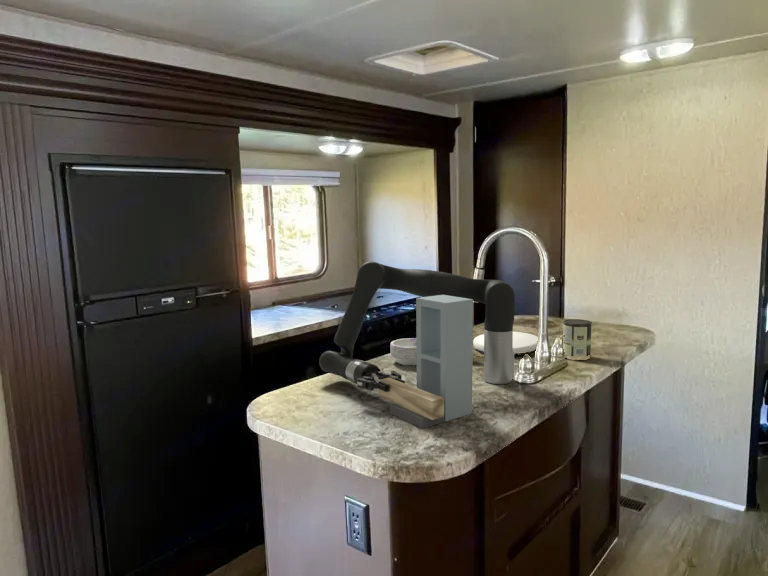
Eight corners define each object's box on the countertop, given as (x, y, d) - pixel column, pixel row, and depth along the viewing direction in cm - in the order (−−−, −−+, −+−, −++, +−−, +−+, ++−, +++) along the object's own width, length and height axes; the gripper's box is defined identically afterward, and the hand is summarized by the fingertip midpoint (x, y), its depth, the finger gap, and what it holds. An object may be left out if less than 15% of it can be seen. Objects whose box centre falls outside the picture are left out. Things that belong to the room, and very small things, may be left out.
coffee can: (577, 353, 221) (578, 318, 220) (596, 359, 212) (597, 322, 210) (556, 356, 218) (557, 320, 216) (574, 362, 208) (575, 324, 206)
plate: (521, 349, 210) (460, 340, 227) (521, 365, 211) (461, 355, 228) (551, 329, 231) (493, 322, 248) (551, 344, 232) (494, 336, 249)
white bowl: (382, 364, 209) (382, 343, 208) (405, 355, 221) (404, 336, 220) (417, 370, 200) (416, 348, 199) (438, 361, 212) (438, 340, 211)
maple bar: (389, 393, 166) (389, 377, 165) (443, 416, 146) (443, 398, 146) (378, 396, 163) (377, 379, 163) (432, 419, 144) (432, 401, 143)
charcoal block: (410, 407, 161) (410, 399, 160) (444, 421, 150) (444, 412, 149) (390, 413, 156) (389, 404, 156) (422, 428, 145) (422, 418, 145)
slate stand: (442, 402, 165) (443, 294, 161) (472, 413, 156) (473, 299, 152) (416, 409, 159) (416, 298, 155) (445, 421, 150) (445, 303, 146)
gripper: (342, 365, 168) (375, 378, 155) (381, 358, 177) (415, 369, 163) (343, 389, 169) (376, 404, 155) (381, 381, 177) (416, 394, 164)
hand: (396, 386), depth 159 cm, fingers open, 5 cm apart
